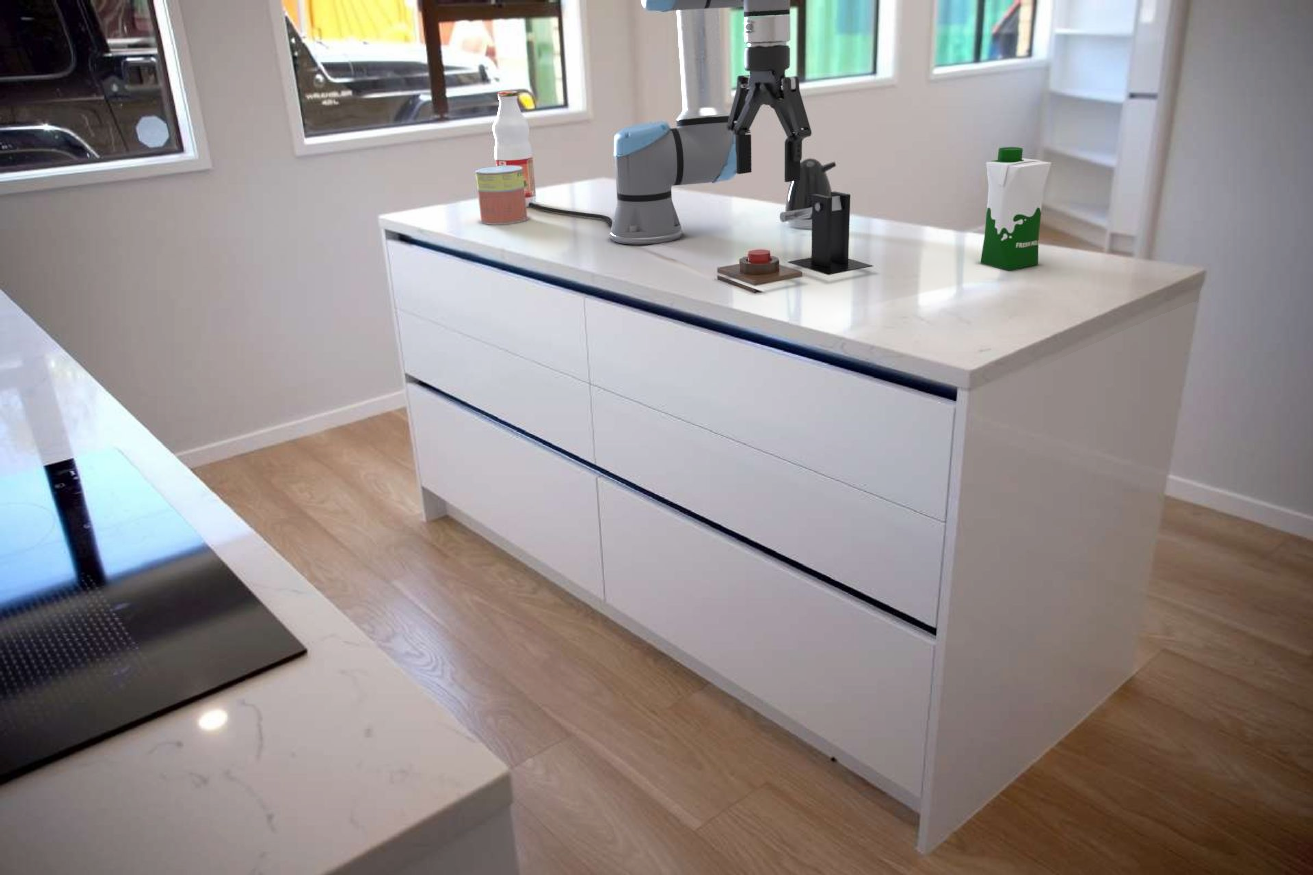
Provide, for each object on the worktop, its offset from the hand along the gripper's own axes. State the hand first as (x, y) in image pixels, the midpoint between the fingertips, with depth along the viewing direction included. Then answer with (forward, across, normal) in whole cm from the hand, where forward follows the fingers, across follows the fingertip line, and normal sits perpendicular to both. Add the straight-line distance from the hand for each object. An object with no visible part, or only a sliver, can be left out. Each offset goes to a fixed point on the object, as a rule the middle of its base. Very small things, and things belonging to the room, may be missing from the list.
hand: (767, 177), depth 172 cm
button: (+14, +1, -3) cm, 14 cm away
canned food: (+17, -86, -14) cm, 89 cm away
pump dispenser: (+18, -25, +30) cm, 43 cm away
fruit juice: (+17, -102, -3) cm, 103 cm away
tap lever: (+8, -1, +11) cm, 14 cm away
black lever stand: (+18, +4, +11) cm, 21 cm away
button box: (+18, +1, -3) cm, 18 cm away
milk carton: (+18, +21, +38) cm, 47 cm away
